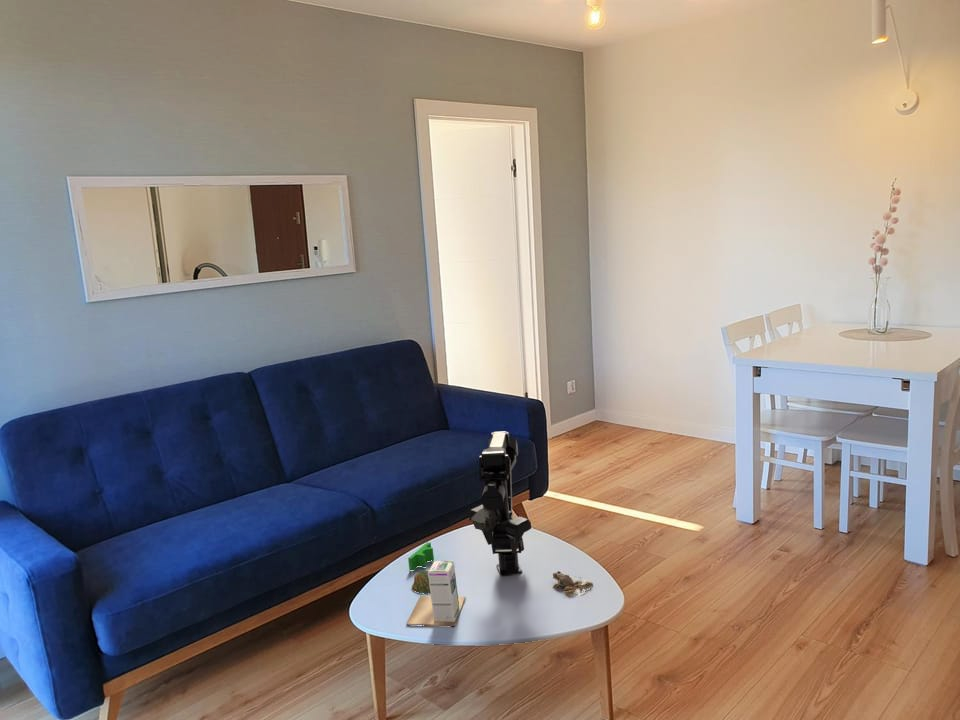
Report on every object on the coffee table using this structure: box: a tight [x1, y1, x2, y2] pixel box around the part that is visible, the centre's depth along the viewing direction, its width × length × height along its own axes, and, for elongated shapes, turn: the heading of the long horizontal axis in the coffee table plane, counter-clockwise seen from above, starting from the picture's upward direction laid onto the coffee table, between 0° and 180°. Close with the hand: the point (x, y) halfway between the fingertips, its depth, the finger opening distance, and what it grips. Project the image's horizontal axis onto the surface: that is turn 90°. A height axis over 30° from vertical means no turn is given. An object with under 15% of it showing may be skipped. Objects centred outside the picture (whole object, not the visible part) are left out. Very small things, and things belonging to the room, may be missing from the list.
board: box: [405, 595, 466, 628], centre depth 200 cm, size 13×14×1 cm
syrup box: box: [427, 560, 460, 622], centre depth 194 cm, size 6×6×14 cm
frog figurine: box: [551, 570, 594, 598], centre depth 206 cm, size 12×12×4 cm
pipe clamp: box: [407, 541, 435, 571], centre depth 227 cm, size 11×4×5 cm, turn 152°
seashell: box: [411, 570, 430, 595], centre depth 214 cm, size 10×4×10 cm
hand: (501, 548), depth 204 cm, fingers open, 9 cm apart
